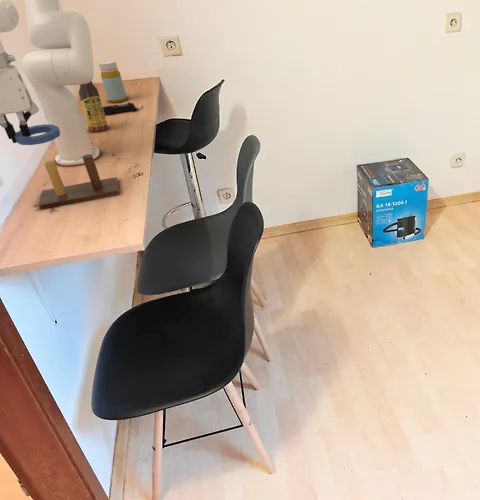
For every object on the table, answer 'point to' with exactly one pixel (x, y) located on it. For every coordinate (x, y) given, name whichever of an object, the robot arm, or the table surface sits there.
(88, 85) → the sauce bottle
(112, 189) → the rack
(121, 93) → the bottle
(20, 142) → the ring
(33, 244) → the table surface
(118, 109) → the electric trimmer
